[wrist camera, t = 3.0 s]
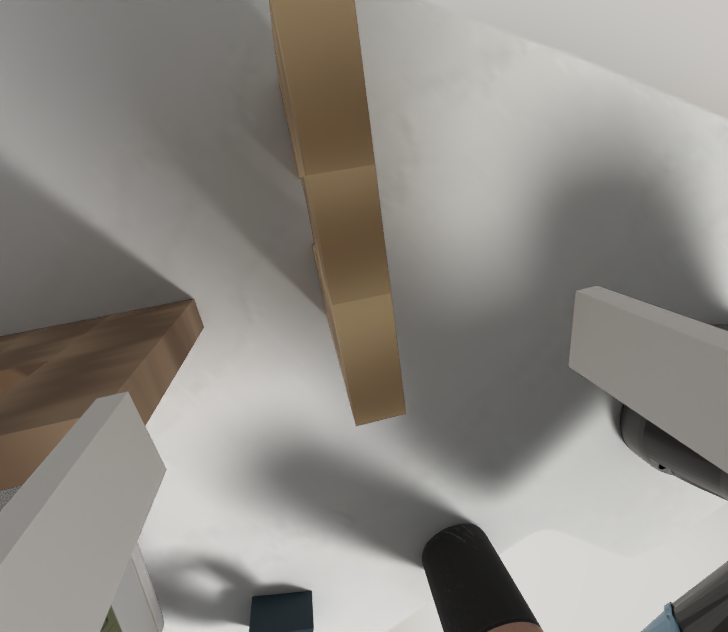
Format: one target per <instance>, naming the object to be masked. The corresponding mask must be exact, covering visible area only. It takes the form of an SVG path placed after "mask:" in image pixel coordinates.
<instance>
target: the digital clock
mask: <svg viewBox="0 0 728 632" xmlns="http://www.w3.org/2000/svg"><path fill="white" fill-rule="evenodd" d="M163 627H164V620H163V616H162V612H161V609H160V606H159V603H158V600H157V597H156V594H155V592H154V589H153V586H152V583H151V580H150V577H149V574H148V571H147V568H146V565H145V563H144V560H143V557H142V554H141V551H140V548H139V545H138V542H137V543H136V545H135V548H134V550H133V552H132V555H131V557H130V560H129V562H128V565H127V567H126V570H125V572H124V574H123V577H122V579H121V582H120V584H119V587H118V589H117V591H116V594H115V596H114V599H113V601H112V604H111V606H110V609H109V611H108V613H107V616H106V618H105V621H104V623H103V626H102V628H101V631H100V632H162V630H163Z"/></svg>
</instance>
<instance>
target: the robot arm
mask: <svg viewBox="0 0 728 632" xmlns="http://www.w3.org/2000/svg"><path fill="white" fill-rule="evenodd" d="M568 367H570V368H571V369H573V370H574V371H576V372H577V373H579V374H580V375H582V376H583V377H585V378H586V379H588V380H589V381H591V382H592V383H594V384H595V385H597V386H598V387H600V388H601V389H603V390H604V391H606V392H607V393H609V394H610V395H611V396H613V397H614V398H616V399H617V400H619V401H620V402H622V403H623V404H624V408H623V412H622V418H621V430H622V435H623V438H624V441H625V443H626V444H627V446H628V447H629V448H630V449H631V450H632V451H633V452H634V453H635V454H637V455H638V456H639V457H641V458H642V459H643V460H644V461H646V462H647V463H648V464H650V465H651V466H652V467H654V468H656V469H658V470H659V471H662V472H664V473H667V474H670V475H674V476H676V477H678V478H680V479H682V480H684V481H686V482H688V483H690V484H692V485H694V486H696V487H698V488H700V489H703V490H705V491H707V492H709V493H712V494H714V495H716V496H719V497H721V498H723V499H725V500H728V325H714V326H711V325H709V324H706V323H703V322H700V321H697V320H694V319H691V318H689V317H686V316H683V315H680V314H677V313H674V312H671V311H668V310H666V309H663V308H660V307H657V306H654V305H651V304H648V303H646V302H643V301H640V300H637V299H634V298H631V297H628V296H626V295H623V294H620V293H617V292H614V291H611V290H608V289H605V288H603V287H600V286H594V287H590V288H585V289H581V290H576V293H575V303H574V313H573V324H572V334H571V345H570V355H569V365H568ZM165 472H166V468H165V465H164V463H163V461H162V459H161V457H160V455H159V453H158V451H157V449H156V447H155V445H154V443H153V441H152V439H151V437H150V435H149V433H148V431H147V429H146V427H145V425H144V423H143V421H142V419H141V417H140V415H139V413H138V411H137V408H136V406H135V404H134V402H133V400H132V398H131V396H130V394H129V392H123V393H119V394H114V395H110V396H106V397H101V398H97V399H96V400H95V401H94V402H93V403H92V405H91V406H90V407H89V408H88V409H87V410H86V412H85V413H84V414H83V415H82V416H81V418H80V419H79V420H78V421H77V422H76V423H75V425H74V426H73V427H72V428H71V429H70V430H69V432H68V433H67V434H66V435H65V436H64V437H63V439H62V440H61V441H60V442H59V443H58V444H57V446H56V447H55V448H54V449H53V450H52V451H51V453H50V454H49V455H48V456H47V457H46V458H45V460H44V461H43V462H42V463H41V464H40V465H39V467H38V468H37V469H36V470H35V471H34V472H33V474H32V475H31V476H30V477H29V478H28V479H27V481H26V482H25V483H24V484H23V485H22V486H21V488H20V489H19V490H18V491H17V492H16V493H15V495H14V496H13V497H12V498H11V499H10V500H9V502H8V503H7V504H6V505H5V506H4V507H3V509H2V510H1V511H0V632H100V631H101V628H102V626H103V623H104V621H105V618H106V616H107V613H108V611H109V609H110V606H111V604H112V601H113V599H114V596H115V594H116V591H117V589H118V587H119V584H120V582H121V579H122V577H123V574H124V572H125V570H126V567H127V565H128V562H129V560H130V557H131V555H132V552H133V550H134V548H135V545H136V543H137V540H138V538H139V535H140V533H141V530H142V528H143V526H144V523H145V521H146V518H147V516H148V513H149V511H150V508H151V506H152V504H153V501H154V499H155V496H156V494H157V491H158V489H159V487H160V484H161V482H162V479H163V477H164V474H165ZM641 632H728V561H727V562H726V563H724V564H723V565H722V566H721V567H719V568H718V569H717V570H715V571H714V572H713V573H712V574H710V575H709V576H708V577H706V578H705V579H704V580H702V581H701V582H700V583H699V584H697V585H696V586H695V587H693V588H692V589H691V590H689V591H688V592H687V593H685V594H684V595H683V596H682V597H680V598H679V599H678V600H677V601H675V602H674V603H671V602H670V603H668V604H666V605H665V606H664V611H663V612H662V613H661V614H660V615H659V616H658V617H657V618H656V619H655V620H653V621H652V622H651V623H650V624H649V625H648V626H647V627H646V628H645V629H643V630H642V631H641Z"/></svg>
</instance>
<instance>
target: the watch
mask: <svg viewBox="0 0 728 632" xmlns="http://www.w3.org/2000/svg"><path fill="white" fill-rule="evenodd" d="M313 629H314V626H313V606H312V591H306V592H296V593H286V594H276V595H266V596H256V597H252V607H251V618H250V628H249V632H313Z"/></svg>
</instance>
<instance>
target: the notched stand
mask: <svg viewBox="0 0 728 632" xmlns="http://www.w3.org/2000/svg"><path fill="white" fill-rule="evenodd" d="M203 328H204V326H203V324H202V321H201V318H200V315H199V312H198V309H197V307H196V304H195V301H194V299H191V300H186V301H180V302H175V303H170V304H165V305H160V306H155V307H150V308H145V309H139V310H134V311H129V312H124V313H119V314H114V315H109V316H103V317H98V318H93V319H88V320H83V321H78V322H73V323H68V324H62V325H57V326H52V327H47V328H42V329H37V330H32V331H27V332H21V333H16V334H11V335H6V336H1V337H0V491H1V490H5V489H9V488H14V487H18V486H22V485H23V484H24V483H25V482H26V481H27V479H28V478H29V477H30V476H31V475H32V474H33V472H34V471H35V470H36V469H37V468H38V467H39V465H40V464H41V463H42V462H43V461H44V460H45V458H46V457H47V456H48V455H49V454H50V453H51V451H52V450H53V449H54V448H55V447H56V446H57V444H58V443H59V442H60V441H61V440H62V439H63V437H64V436H65V435H66V434H67V433H68V432H69V430H70V429H71V428H72V427H73V426H74V425H75V423H76V422H77V421H78V420H79V419H80V418H81V416H82V415H83V414H84V413H85V412H86V410H87V409H88V408H89V407H90V406H91V405H92V403H93V402H94V401H95V400H96V399H97V398H101V397H106V396H110V395H114V394H119V393H123V392H129V394H130V396H131V398H132V400H133V402H134V404H135V406H136V408H137V411H138V413H139V415H140V417H141V419H142V421H143V423H144V425H146V424H147V422H148V420H149V419H150V417H151V415H152V414H153V412H154V410H155V409H156V407H157V405H158V404H159V402H160V400H161V399H162V397H163V395H164V393H165V392H166V390H167V388H168V387H169V385H170V383H171V382H172V380H173V378H174V377H175V375H176V373H177V372H178V370H179V368H180V367H181V365H182V363H183V362H184V360H185V358H186V356H187V355H188V353H189V351H190V350H191V348H192V346H193V345H194V343H195V341H196V340H197V338H198V336H199V335H200V333H201V331H202V330H203Z"/></svg>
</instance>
